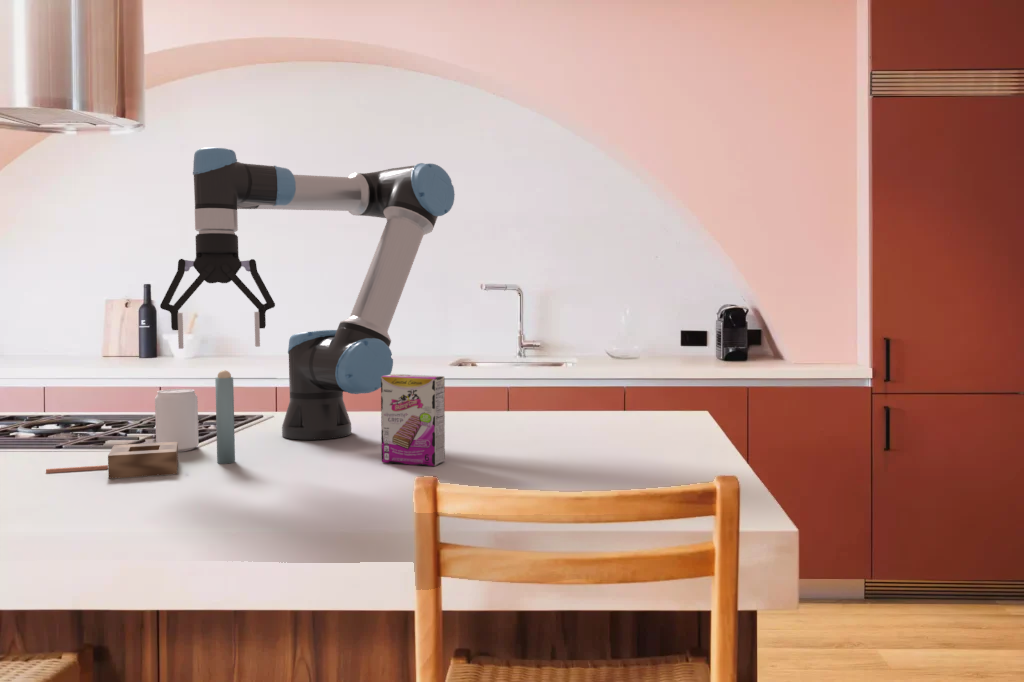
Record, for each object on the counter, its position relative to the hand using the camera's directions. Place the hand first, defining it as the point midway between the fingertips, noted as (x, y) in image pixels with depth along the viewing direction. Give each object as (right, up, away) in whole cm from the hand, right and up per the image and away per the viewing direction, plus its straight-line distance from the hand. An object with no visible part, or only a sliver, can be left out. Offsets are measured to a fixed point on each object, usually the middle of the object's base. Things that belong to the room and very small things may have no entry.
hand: (219, 347), depth 166 cm
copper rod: (-24, -22, -6) cm, 33 cm away
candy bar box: (+36, -22, 0) cm, 42 cm away
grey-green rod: (+1, -22, +1) cm, 22 cm away
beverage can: (-14, -21, +15) cm, 29 cm away
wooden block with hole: (-11, -22, -6) cm, 26 cm away
